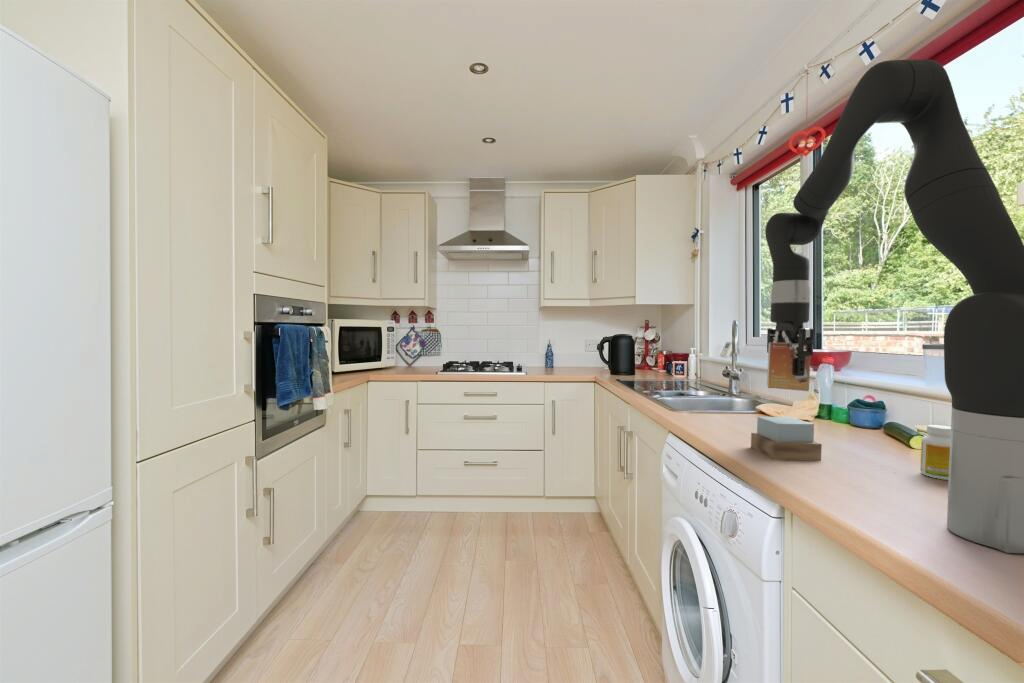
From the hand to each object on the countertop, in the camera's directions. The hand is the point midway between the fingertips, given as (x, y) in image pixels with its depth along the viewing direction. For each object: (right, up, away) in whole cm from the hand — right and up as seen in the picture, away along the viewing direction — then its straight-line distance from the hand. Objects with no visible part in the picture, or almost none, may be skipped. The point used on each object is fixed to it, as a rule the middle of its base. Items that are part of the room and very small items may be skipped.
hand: (787, 373), depth 103 cm
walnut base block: (-1, -19, 0) cm, 19 cm away
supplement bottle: (+20, -19, -15) cm, 32 cm away
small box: (0, -4, 0) cm, 4 cm away
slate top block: (-1, -15, 0) cm, 15 cm away
